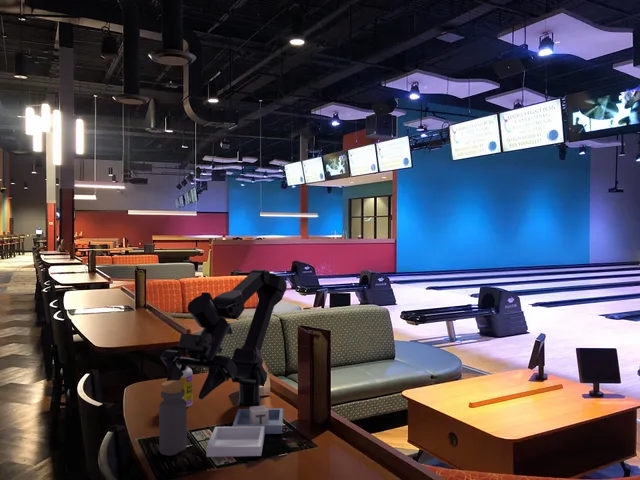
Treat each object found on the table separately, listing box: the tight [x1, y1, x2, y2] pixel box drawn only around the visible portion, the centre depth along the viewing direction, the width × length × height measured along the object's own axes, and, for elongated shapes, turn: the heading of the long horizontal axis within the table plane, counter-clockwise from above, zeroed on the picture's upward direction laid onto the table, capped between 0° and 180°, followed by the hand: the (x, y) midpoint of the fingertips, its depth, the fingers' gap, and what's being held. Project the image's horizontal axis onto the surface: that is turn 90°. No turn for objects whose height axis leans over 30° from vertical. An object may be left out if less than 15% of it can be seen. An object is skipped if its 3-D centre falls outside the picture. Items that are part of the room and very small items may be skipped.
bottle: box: [158, 380, 188, 456], centre depth 116 cm, size 6×6×15 cm
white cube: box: [249, 404, 269, 424], centre depth 130 cm, size 4×4×4 cm
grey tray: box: [205, 426, 266, 458], centre depth 117 cm, size 12×12×2 cm
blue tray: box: [232, 407, 284, 435], centre depth 130 cm, size 12×12×2 cm
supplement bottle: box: [179, 366, 194, 408], centre depth 145 cm, size 7×7×13 cm
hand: (183, 396), depth 119 cm, fingers open, 9 cm apart
